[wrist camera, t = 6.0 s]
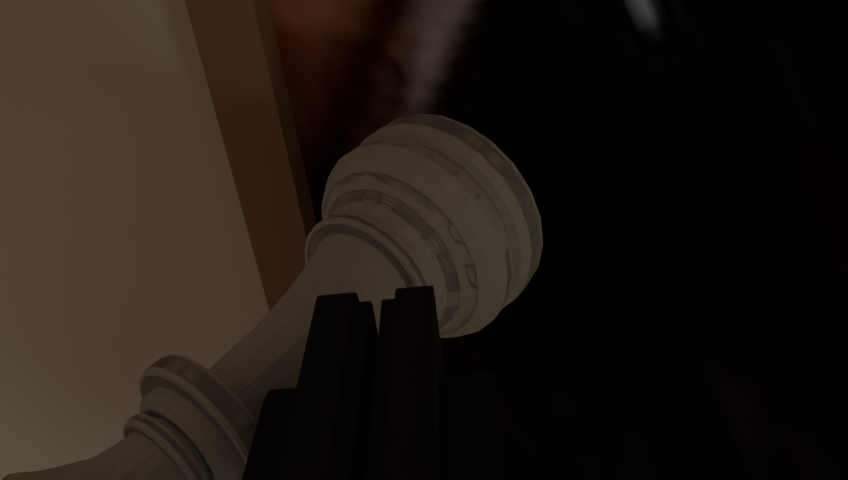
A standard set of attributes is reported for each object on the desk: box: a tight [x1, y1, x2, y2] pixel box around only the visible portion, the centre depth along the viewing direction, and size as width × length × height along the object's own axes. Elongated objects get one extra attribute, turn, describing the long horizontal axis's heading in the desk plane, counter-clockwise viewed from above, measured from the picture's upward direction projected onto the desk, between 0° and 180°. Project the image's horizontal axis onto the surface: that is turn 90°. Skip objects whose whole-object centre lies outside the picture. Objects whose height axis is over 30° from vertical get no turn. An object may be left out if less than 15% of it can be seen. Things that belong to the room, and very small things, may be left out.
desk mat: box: [0, 0, 317, 480], centre depth 16 cm, size 12×16×1 cm
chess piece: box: [2, 113, 543, 480], centre depth 12 cm, size 4×4×10 cm
